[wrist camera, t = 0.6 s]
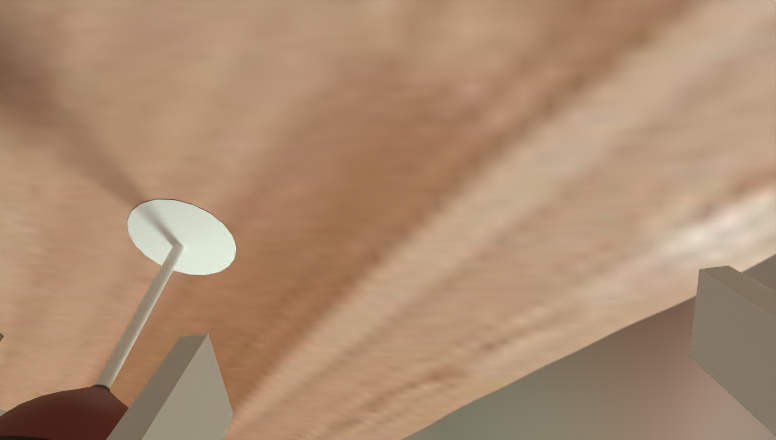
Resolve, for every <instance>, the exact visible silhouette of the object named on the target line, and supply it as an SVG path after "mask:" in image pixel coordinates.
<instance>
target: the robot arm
mask: <svg viewBox="0 0 776 440" xmlns="http://www.w3.org/2000/svg"><path fill="white" fill-rule="evenodd" d="M690 358H692V359H693V360H694V361H695V362H696V363H697V364H698V365H699V366H700V367H701V368H702V369H703V370H704V371H706V372H707V373H708V374H709V375H710V376H711V377H712V378H713V379H714V380H715V381H716V382H717V383H719V384H720V385H721V386H722V387H723V388H724V389H725V390H726V391H727V392H728V393H729V394H731V395H732V396H733V397H734V398H735V399H736V400H737V401H738V402H739V403H740V404H741V405H742V406H743V407H744V408H746V409H747V410H748V411H749V412H750V413H751V414H752V415H753V416H754V417H756V418H757V420H759V421H760V422H761V423H762V424H763V425H764V426H765V427H766V428H767V429H768V430H769V431H771V432H772V433H773V434H774V435H775V436H776V292H775V291H773V290H771V289H769V288H767V287H765V286H764V285H762V284H760V283H759V282H757V281H755V280H753V279H751V278H750V277H748V276H746V275H744V274H742V273H741V272H739V271H737V270H736V269H734V268H732V267H730V266H722V267H714V268H706V269H699V277H698V286H697V295H696V305H695V314H694V324H693V332H692V342H691V351H690ZM232 417H233V412H232V409H231V406H230V402H229V399H228V396H227V393H226V389H225V386H224V383H223V380H222V377H221V373H220V370H219V367H218V364H217V360H216V357H215V354H214V351H213V347H212V344H211V341H210V338H209V334H208V333H207V334H200V335H192V336H184V337H180V338H179V339H178V341H177V342H176V343H175V345H174V346H173V348H172V349H171V350H170V352H169V353H168V355H167V356H166V357H165V359H164V360H163V361H162V363H161V364H160V366H159V367H158V368H157V370H156V371H155V373H154V374H153V375H152V377H151V378H150V380H149V381H148V382H147V384H146V385H145V386H144V388H143V389H142V391H141V392H140V393H139V395H138V396H137V398H136V399H135V400H134V402H133V403H132V405H131V406H130V407H129V409H128V410H127V411H126V413H125V414H124V416H123V417H122V418H121V420H120V421H119V423H118V424H117V425H116V427H115V428H114V429H113V431H112V432H111V434H110V435H109V436H108V438H107V439H106V440H223V439H224V437H225V434H226V432H227V429H228V427H229V424H230V422H231V419H232Z"/></svg>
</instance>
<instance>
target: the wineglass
mask: <svg viewBox="0 0 776 440" xmlns="http://www.w3.org/2000/svg"><path fill="white" fill-rule="evenodd" d="M127 224H128V233H129V235H130V236H131V238H132V240H133V242H134V244H135V245H136V246H137V247H138V248H139V249H140V250H141V251H142V252H143V253H144V254H145V255H146V256H147V257H149V258H150V259H152V260H153V261H155V262H156V263H158V264H160V265H162V266H161V268H160V270H159V272H158V273H157V275H156V277H155V279H154V280H153V282H152V284H151V286H150V288H149V289H148V291H147V293H146V295H145V296H144V298H143V300H142V302H141V303H140V305H139V307H138V309H137V311H136V312H135V314H134V316H133V318H132V319H131V321H130V323H129V325H128V326H127V328H126V330H125V332H124V334H123V335H122V337H121V339H120V341H119V342H118V344H117V346H116V348H115V349H114V351H113V353H112V355H111V357H110V358H109V360H108V362H107V364H106V365H105V367H104V369H103V371H102V373H101V374H100V376H99V378H98V380H97V381H96V383H95V385H94V386H92V387H87V388H81V389H75V390H67V391H61V392H56V393H52V394H48V395H44V396H40V397H38V398H35V399H32V400H30V401H27V402H25V403H22V404H20V405H18V406H16V407H15V408H13V409H11V410H10V411H8V412H6V413H5V414H3V415H2V416H0V440H106V439H107V438H108V436H109V435H110V434H111V432H112V431H113V429H114V428H115V427H116V425H117V424H118V423H119V421H120V420H121V418H122V417H123V416H124V414H125V413H126V411H127V410H128V409H129V408H128V407H127V406H126V405H125V404H123V403H122V402H121V401H120V400H118V399H117V398H116V397H115V396H114V395H113V394H112V393H111V392H110V390H109V389H110V387H111V385H112V383H113V381H114V380H115V378H116V376H117V374H118V372H119V370H120V368H121V366H122V365H123V363H124V361H125V359H126V357H127V355H128V353H129V352H130V350H131V348H132V346H133V344H134V342H135V340H136V338H137V337H138V335H139V333H140V331H141V329H142V327H143V325H144V323H145V322H146V320H147V318H148V316H149V314H150V312H151V310H152V309H153V307H154V305H155V303H156V301H157V299H158V297H159V295H160V294H161V292H162V290H163V288H164V286H165V284H166V282H167V280H168V279H169V277H170V275H171V273H172V271H173V270H174V271H178V272H182V273H186V274H195V275H207V274H212V273H217V272H220V271H221V270H223V269H225V268H227V267H228V266H229V265H230V264H231V262H232V261H233V260H234V258H235V252H236V246H235V243H234V240H233V236H232V235H231V233H230V232H229V231H228V229H227V228H226V227H225V226H224V224H223V223H222V222H220V221H219V220H218V219H216V218H215V217H214V216H213V215H211V214H210V213H208V212H206V211H204V210H202V209H200V208H198V207H196V206H194V205H192V204H188V203H184V202H180V201H176V200H153V201H149V202H145V203H142V204H140V205H139V206H138V207H136V208H135V209H134V210H132V211H131V214H130V216H129V218H128V220H127Z"/></svg>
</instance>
